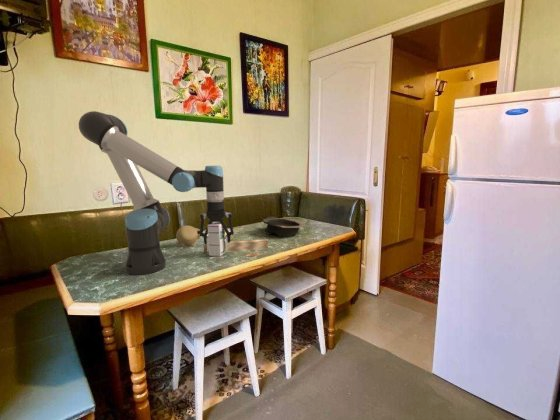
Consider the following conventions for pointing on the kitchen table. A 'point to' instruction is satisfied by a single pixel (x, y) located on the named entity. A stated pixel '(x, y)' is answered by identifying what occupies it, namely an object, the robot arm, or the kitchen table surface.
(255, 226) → the kitchen table surface
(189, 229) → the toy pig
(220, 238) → the syrup box
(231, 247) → the maple fence
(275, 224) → the stone bowl
